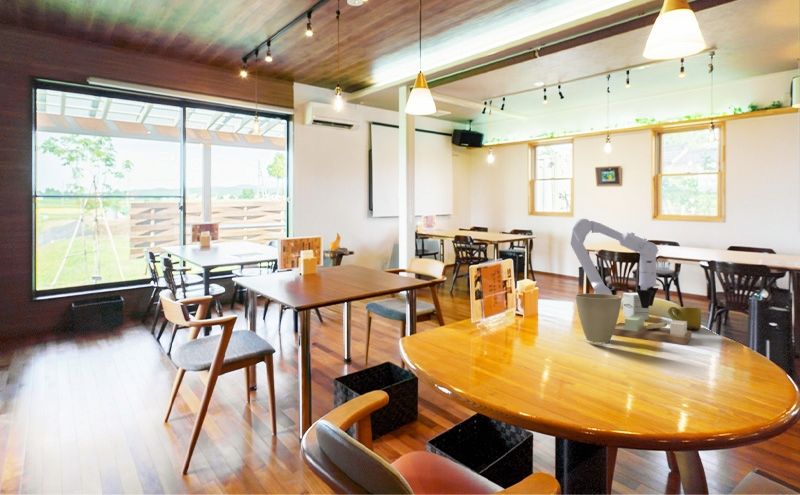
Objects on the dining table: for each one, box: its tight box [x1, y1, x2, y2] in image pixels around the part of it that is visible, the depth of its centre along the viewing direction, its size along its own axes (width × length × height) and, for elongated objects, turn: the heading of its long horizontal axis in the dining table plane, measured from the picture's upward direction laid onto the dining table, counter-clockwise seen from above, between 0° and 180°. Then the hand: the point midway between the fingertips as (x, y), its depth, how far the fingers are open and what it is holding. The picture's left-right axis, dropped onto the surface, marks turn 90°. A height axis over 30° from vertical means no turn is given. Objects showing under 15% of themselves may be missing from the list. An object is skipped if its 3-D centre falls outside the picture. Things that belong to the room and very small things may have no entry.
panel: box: [612, 322, 693, 346], centre depth 160 cm, size 24×14×4 cm, turn 50°
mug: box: [667, 306, 702, 331], centre depth 169 cm, size 12×10×10 cm
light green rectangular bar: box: [624, 315, 645, 331], centre depth 162 cm, size 4×12×4 cm, turn 140°
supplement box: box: [622, 292, 650, 321], centre depth 185 cm, size 7×7×13 cm
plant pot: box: [575, 293, 623, 344], centre depth 152 cm, size 15×15×16 cm
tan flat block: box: [645, 321, 668, 329], centre depth 158 cm, size 6×5×1 cm
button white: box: [669, 320, 688, 336], centre depth 153 cm, size 4×8×4 cm, turn 140°
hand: (647, 306), depth 169 cm, fingers open, 7 cm apart
